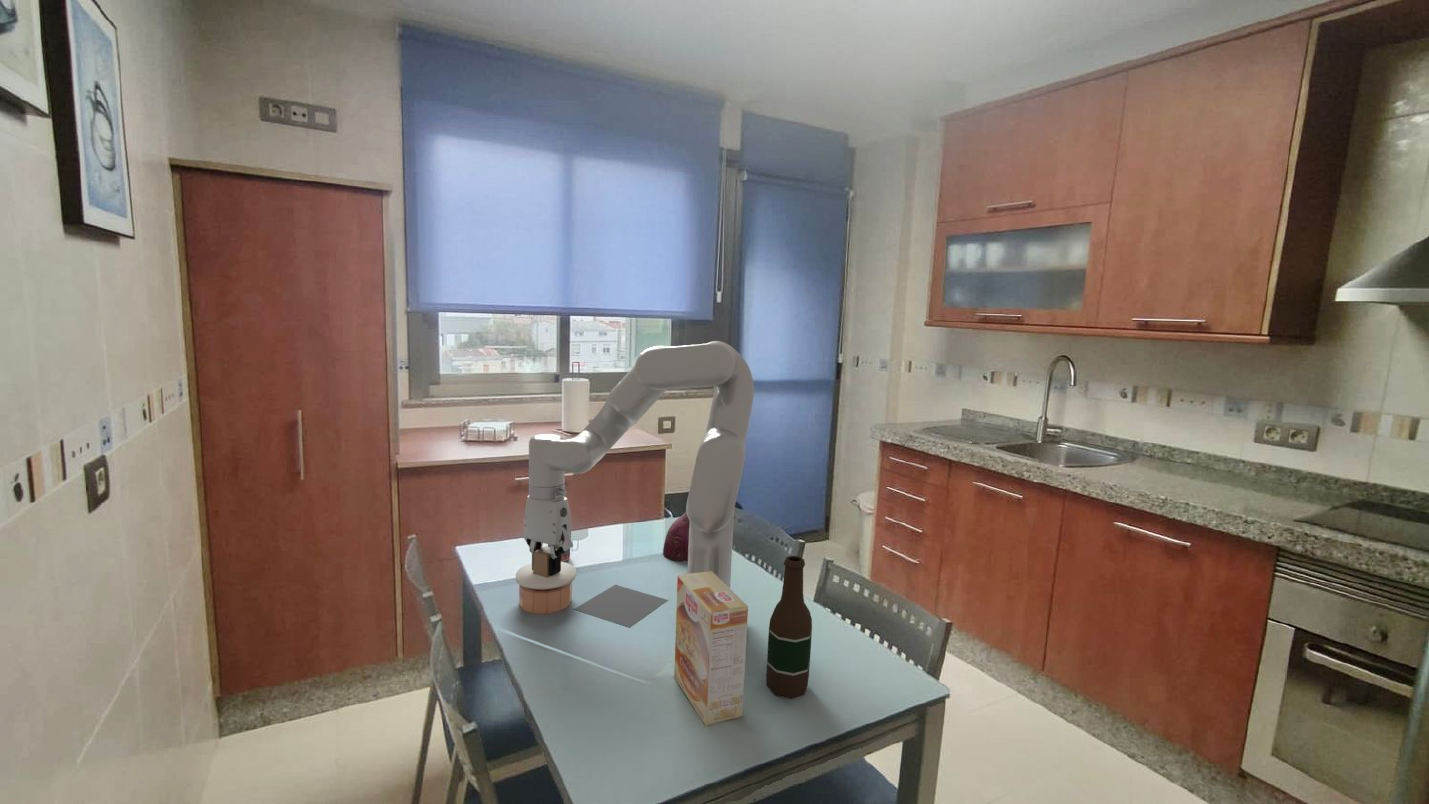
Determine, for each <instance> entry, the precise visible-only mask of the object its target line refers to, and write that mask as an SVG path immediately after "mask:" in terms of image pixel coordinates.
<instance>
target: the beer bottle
mask: <svg viewBox="0 0 1429 804" xmlns="http://www.w3.org/2000/svg"><path fill="white" fill-rule="evenodd" d="M783 565H784V566H785V567H784V575H783V583H782V592H781V597H780V600H779V601H778V602H777V603H776V604H775V607H774V609H773V611H772V614H771V616H770V620H769V626H768V638H767V656H766V658H767V659H766V675H765V676H766V677H765V678H766V679H765V681H766V683H765V684H766V687H767V688H768V689H769V691H771V692H772V693H773V694H774V695H775V696H776V697H781V698H787V699H795V698H799V697H803V696H805V695H806V692H807V689H808V684H809V678H810V664H811V663H810V662H811V649H812V648H811V647H812V637H813V636H812V634H813V618H812V615H811V611H810V610H809V607H808V606H807V605H806V603H805V599H804V568H805V566H806V563H805V559H804V558H802V557H800V556H798V555H791V556H786V557H785V560H784V562H783Z"/></svg>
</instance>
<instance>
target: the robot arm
mask: <svg viewBox="0 0 1429 804" xmlns="http://www.w3.org/2000/svg"><path fill="white" fill-rule="evenodd" d="M710 387H713V395H712V396H713V397H712V401H711V406H710V412H709V418H708V421H707V427H706V430H705V433H704V436H703V438H702V439H701V442H700V445H699V447H698V450H697V453H696V458H695V464H694V468H693V470H692V471H693V472H692V477H691V481H690V485H689V486H690V487H689V490H688V496H687V501H686V507H685V508H686V511H687V516H688V518H689V520H690V526H689V545H688V561H687V573H686V574H688V573H691V574H692V573H700V572H707V571H712V572H713V573H714V574H715V575H716V576H717V577H718V578H720V579H721V580H722V581H723V582H724V583H725V584H726V585H727V586H728V587H729V588H730V589H731V580H732V579H731V577H732V561H733V559H732V557H733V538H734V537H733V536H734V524H735V522H734V521H735V508H736V503H737V498H738V494H739V489H740V485H741V481H742V475H743V471H744V468H745V467H744V466H745V462H746V461H745V460H746V459H745V458H746V441H747V434H748V431H749V425H750V419H751V414H752V407H753V402H754V395H755V393H754V392H755V390H754V389H755V385H754V380H753V375H752V371H751V369H750V367H749V364H748V363H747V361H746V360H745V358H744V357H743V356H742V355H741V354H740V353H739V351H737V350H736V349H735V348H734V347H732V345H729V344H728V343H726V342H723V341H720V340H712V341H710V342H707V343H700V344H690V345H677V346H675V345H674V346H667V345H659V344H658V345H655V346H652V347H651V346H650V347H649V348H648V347H647V348H645V350H643V351H642V352H640V354H639V355H638V357H637V358H636V361H635V364H634V365H633V366H632V367H631V368H630V370H629V371H628V372H627V373H626V374H625V375H624V376H623V377H622V378H621V380H620V381H618V383H616V385H615V386H614V387H613V388H612V389H611V390H610V392H609V393H608V394H607V396H606V399H605V402H604V404H603V406H602V408H601V409H599V412H598V413H597V414H596V415H595V417H593V419H592V420H591V421H590V422H589V423H588V424H587V425H586V426H585V427H584V428H583V429H582V431H581V432H580V433H578V434H576V435H575V436H574V437H572V438H568V439H564V437H563V436H562V435H559V434H555V433H540V434H535V435H533V436H531V438H530V439H529V441H528V495H527V498H526V503H525V507H524V508H525V509H524V518H523V519H524V521H523V522H524V523H523V530H522V531H521V533H520V535H521V537H522V538H523V539H524V541H525V542H526V544H527V546H528V548H529V549H528V550H529V552H530V553H531V564H532V570H533V552H534V551H536V550H538V549H541V548H543V546H544V545H543V544H546V545H548V544H549V546H550V553H551V558H549V575H550V576H553V575H555V574H557V573H559V572H560V571H561V555H563V554H564V552H565V551H566V550H568V549H570V550H571V548H573V547H574V543H573V541H572V540H571V538H572V520H571V510H570V509H571V508H570V505H569V501H568V500H569V499H568V497H566V496H567V494H568V491H567V489H565V482H566V481H565V473H569V474H575V475H580V474H585V473H587V472H588V471H590V470H591V469H593V467H595V466H596V464H597V463H598V462H600V461H601V460H602V459H603V458H604V456H606V455H607V453H608V452H609V451H610V450H611V448H613V446H615V444H616V443H617V442H618V441H619V440H620V439H621V438H622V436H624V435H625V434H626V433H627V432H628V430H629V429H630V428H632V427H633V426H635V425H636V424H637V423H638V422H639V421H640V420H641V419H642V417H643V416H644V415H645V414H646V413H647V412H648V411H649V410H650V409H651V408H652V406H654V404H655V403H656V402H657V401H658V400H659V399H660V397H662V396H663V394H665V392H666V391H667V390H682V389H684V390H685V389H695V388H697V389H698V388H710ZM686 511H685V512H686ZM562 541H563V545H562ZM555 546H557V550H556V547H555Z"/></svg>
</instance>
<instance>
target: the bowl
mask: <svg viewBox="0 0 1429 804" xmlns="http://www.w3.org/2000/svg"><path fill="white" fill-rule="evenodd" d="M518 585H519V584H518ZM518 594H519V595H518V598H519V599H518V601H519V603H518V604H519V606H520V607H521V609H522V610H523V611H525V612H528V613H531V614H542V615H543V614H551V613H555V612H561V611H563V610H564V609H566V608H567V607H569V606H570V605H571V604H572V603H571V602H572V600H573V596H572V595H573V581H572V582H571V583H569V584H567V585H564V586H561V587H558V588H553V589H530V588H526V587H523V586H521V585H519V587H518Z"/></svg>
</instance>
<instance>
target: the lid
mask: <svg viewBox="0 0 1429 804" xmlns="http://www.w3.org/2000/svg"><path fill="white" fill-rule="evenodd" d="M556 550H557V549H556ZM549 558H551V553H550V547H548V545H547V546H544V547H543V546H542V548H541V549H538V550H536V551H534V552H533V570H532V563H529V564H526V565H524V566H522V567H520V568H519V569H517V571H516V573H515V582H516V584H518V585H521V586H523V587H526V588H530V589H553V588H558V587H561V586H564V585H567V584H569V583H571V582H572V583H573V582H574V581H575V580H576V578H577V569H576V567H575V566H574V565H572V564H570V563H569V562H566V561H565V562H561V571H560V572H559V573H557V574H555V575H553V576H550V575H549Z"/></svg>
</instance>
